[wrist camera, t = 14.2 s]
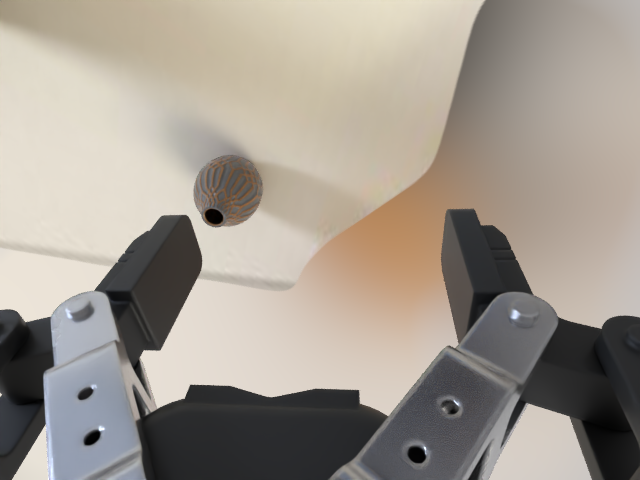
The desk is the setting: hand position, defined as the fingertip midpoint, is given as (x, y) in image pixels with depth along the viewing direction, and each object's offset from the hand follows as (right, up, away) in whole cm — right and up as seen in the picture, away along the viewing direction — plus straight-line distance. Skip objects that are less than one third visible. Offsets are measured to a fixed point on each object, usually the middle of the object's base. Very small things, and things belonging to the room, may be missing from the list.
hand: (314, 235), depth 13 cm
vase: (-9, +7, +33) cm, 35 cm away
